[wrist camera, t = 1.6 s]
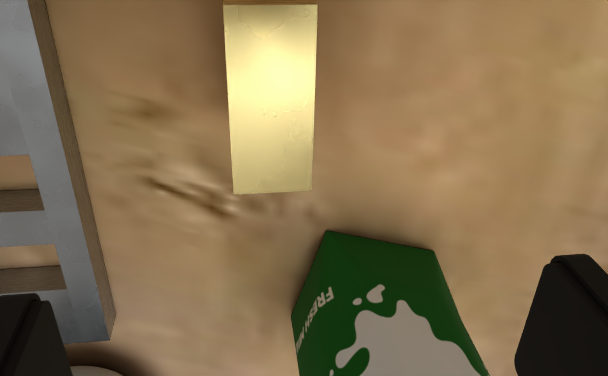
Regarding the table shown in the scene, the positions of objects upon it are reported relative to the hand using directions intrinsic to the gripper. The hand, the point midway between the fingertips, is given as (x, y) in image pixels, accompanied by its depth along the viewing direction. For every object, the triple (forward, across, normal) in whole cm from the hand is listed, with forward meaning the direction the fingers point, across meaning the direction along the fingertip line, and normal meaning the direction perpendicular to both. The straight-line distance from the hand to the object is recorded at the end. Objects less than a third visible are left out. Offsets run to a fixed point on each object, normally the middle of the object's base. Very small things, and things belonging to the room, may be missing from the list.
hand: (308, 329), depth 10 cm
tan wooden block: (+17, 0, 0) cm, 17 cm away
